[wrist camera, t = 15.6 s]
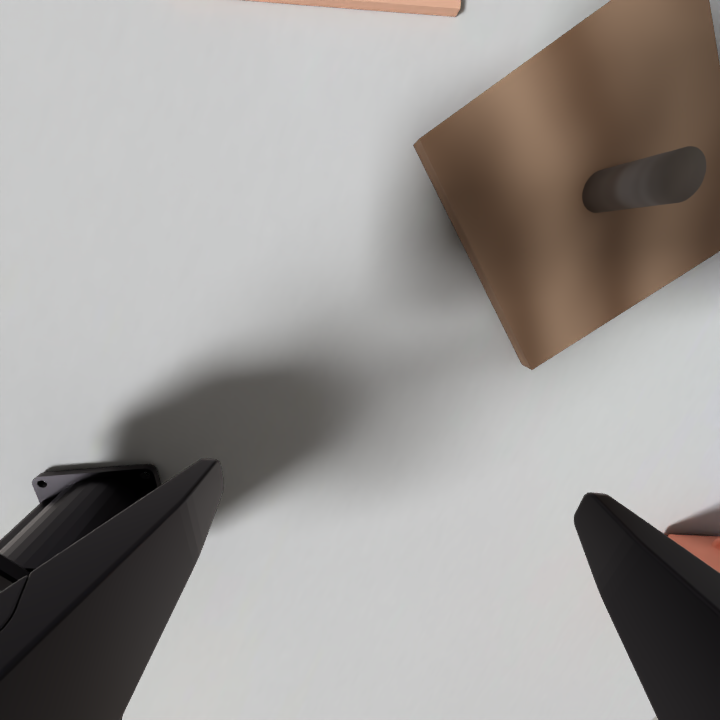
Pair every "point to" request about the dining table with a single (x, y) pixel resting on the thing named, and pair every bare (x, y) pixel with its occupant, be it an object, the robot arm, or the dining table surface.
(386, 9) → the rubber mat
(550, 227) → the post base
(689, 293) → the dining table surface
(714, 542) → the teapot
